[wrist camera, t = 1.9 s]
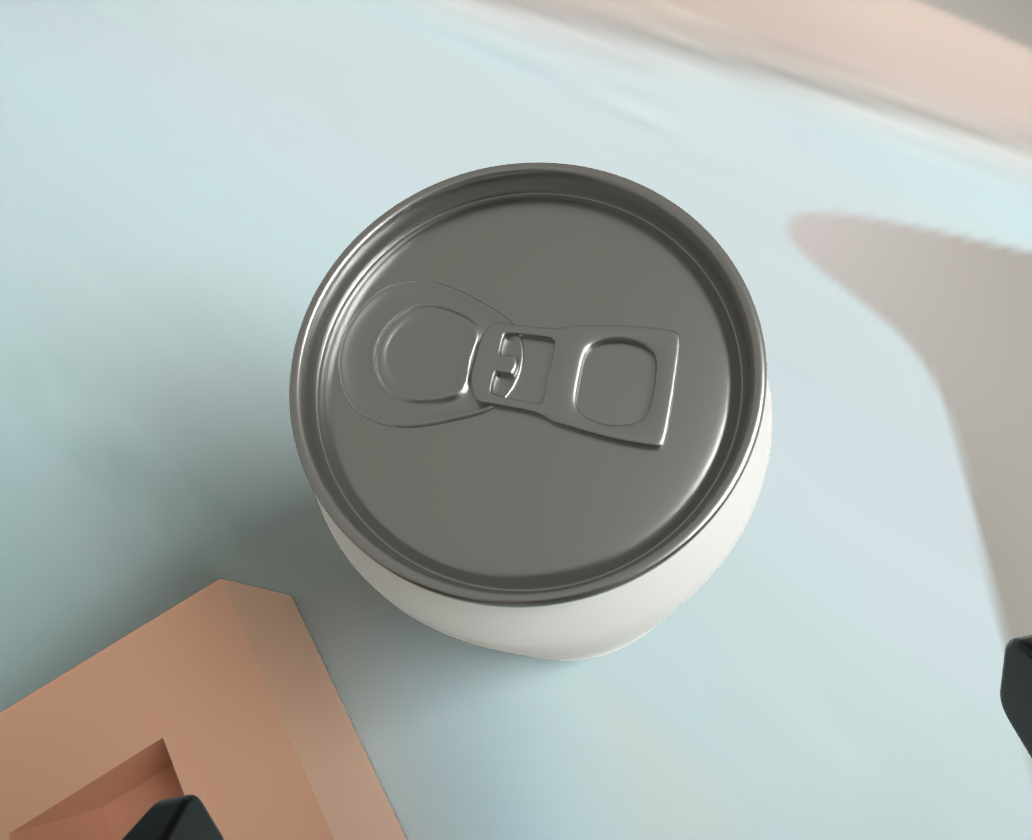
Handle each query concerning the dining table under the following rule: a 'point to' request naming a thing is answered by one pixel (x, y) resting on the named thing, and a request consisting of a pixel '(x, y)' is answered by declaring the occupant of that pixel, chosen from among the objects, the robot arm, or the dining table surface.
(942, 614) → the dining table surface
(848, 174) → the dining table surface
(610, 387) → the can
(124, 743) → the peach block
